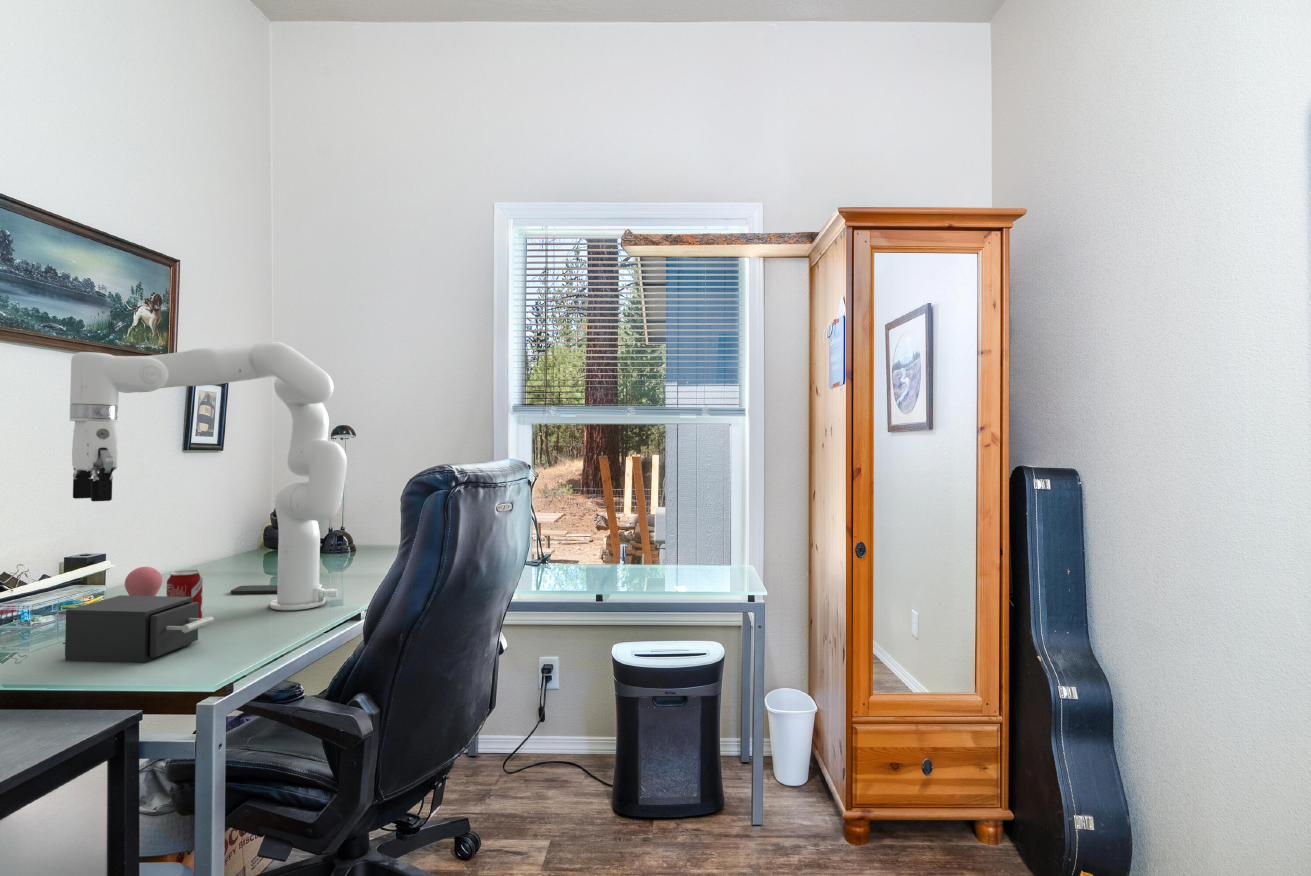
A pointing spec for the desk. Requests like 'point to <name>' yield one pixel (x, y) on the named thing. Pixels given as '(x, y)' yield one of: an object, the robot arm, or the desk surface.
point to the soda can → (186, 586)
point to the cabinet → (114, 628)
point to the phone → (255, 589)
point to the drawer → (174, 628)
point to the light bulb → (143, 582)
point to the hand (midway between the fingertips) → (92, 499)
